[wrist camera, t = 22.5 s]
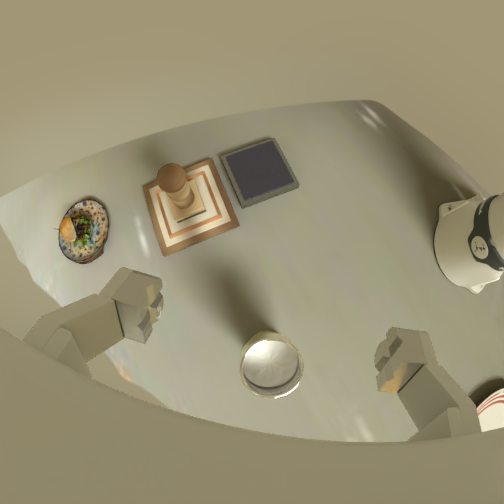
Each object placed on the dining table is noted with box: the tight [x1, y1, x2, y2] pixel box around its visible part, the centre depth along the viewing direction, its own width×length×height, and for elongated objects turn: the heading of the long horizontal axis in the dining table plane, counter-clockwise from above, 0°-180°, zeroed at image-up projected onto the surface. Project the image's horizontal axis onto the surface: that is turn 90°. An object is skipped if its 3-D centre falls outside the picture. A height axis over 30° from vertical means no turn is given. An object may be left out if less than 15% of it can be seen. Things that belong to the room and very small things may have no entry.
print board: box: [143, 158, 240, 256], centre depth 46 cm, size 13×13×1 cm
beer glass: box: [239, 331, 304, 399], centre depth 35 cm, size 7×7×15 cm
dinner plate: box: [476, 388, 504, 432], centre depth 34 cm, size 28×27×3 cm
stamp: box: [157, 163, 206, 223], centre depth 40 cm, size 5×5×12 cm
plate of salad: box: [57, 199, 109, 264], centre depth 43 cm, size 12×12×8 cm
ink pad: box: [221, 138, 299, 209], centre depth 47 cm, size 10×10×2 cm
